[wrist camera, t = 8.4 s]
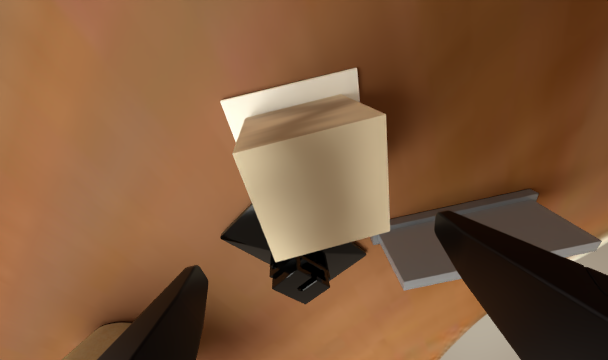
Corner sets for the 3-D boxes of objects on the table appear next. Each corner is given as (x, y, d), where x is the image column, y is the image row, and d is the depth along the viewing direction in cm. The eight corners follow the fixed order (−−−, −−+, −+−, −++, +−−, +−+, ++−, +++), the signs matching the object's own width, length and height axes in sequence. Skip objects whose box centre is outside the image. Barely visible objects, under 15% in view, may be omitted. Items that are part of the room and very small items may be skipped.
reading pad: (355, 67, 15) (356, 67, 14) (365, 183, 19) (367, 186, 19) (221, 100, 15) (220, 101, 15) (262, 206, 20) (261, 209, 19)
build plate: (365, 251, 23) (384, 295, 19) (315, 287, 25) (322, 334, 21) (270, 181, 18) (267, 220, 14) (219, 234, 21) (202, 281, 16)
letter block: (340, 94, 15) (385, 114, 9) (351, 180, 18) (390, 233, 13) (245, 118, 15) (232, 153, 9) (273, 200, 18) (276, 264, 12)
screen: (530, 188, 21) (612, 234, 16) (524, 206, 22) (599, 254, 17) (369, 223, 21) (397, 279, 16) (370, 239, 22) (397, 295, 17)
